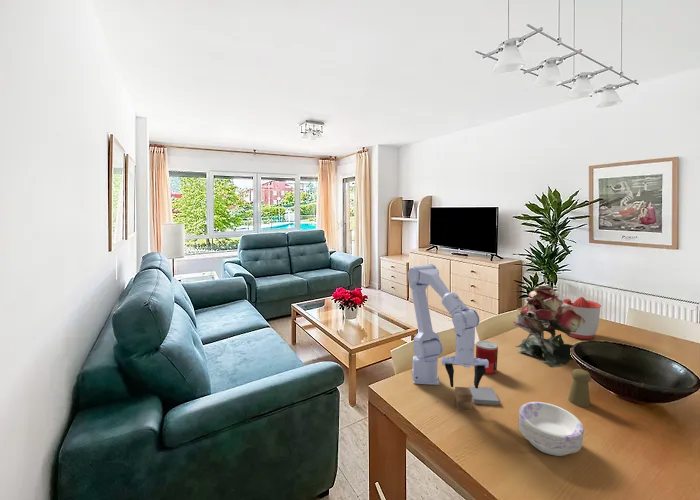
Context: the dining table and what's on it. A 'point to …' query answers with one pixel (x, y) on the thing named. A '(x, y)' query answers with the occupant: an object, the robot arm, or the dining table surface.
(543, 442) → the paper bowls
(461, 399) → the walnut block
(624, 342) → the dining table surface
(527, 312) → the rose bouquet
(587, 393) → the olive green pawn
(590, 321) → the citrus juicer
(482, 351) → the canned food
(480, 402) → the slate slab
